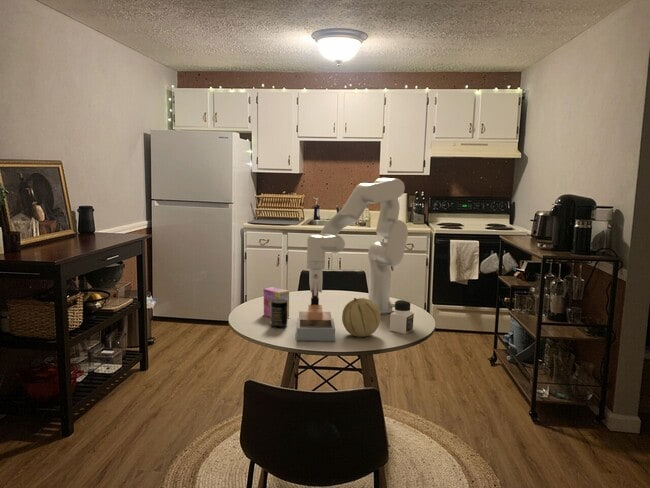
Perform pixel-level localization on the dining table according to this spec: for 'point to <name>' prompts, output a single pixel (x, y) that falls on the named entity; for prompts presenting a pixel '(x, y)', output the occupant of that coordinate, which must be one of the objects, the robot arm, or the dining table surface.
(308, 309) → the tile rear
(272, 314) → the supplement container
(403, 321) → the medicine bottle
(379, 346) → the dining table surface
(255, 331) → the dining table surface
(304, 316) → the brown flat block
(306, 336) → the tray
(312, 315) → the tile front
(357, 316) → the cantaloupe
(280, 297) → the box
